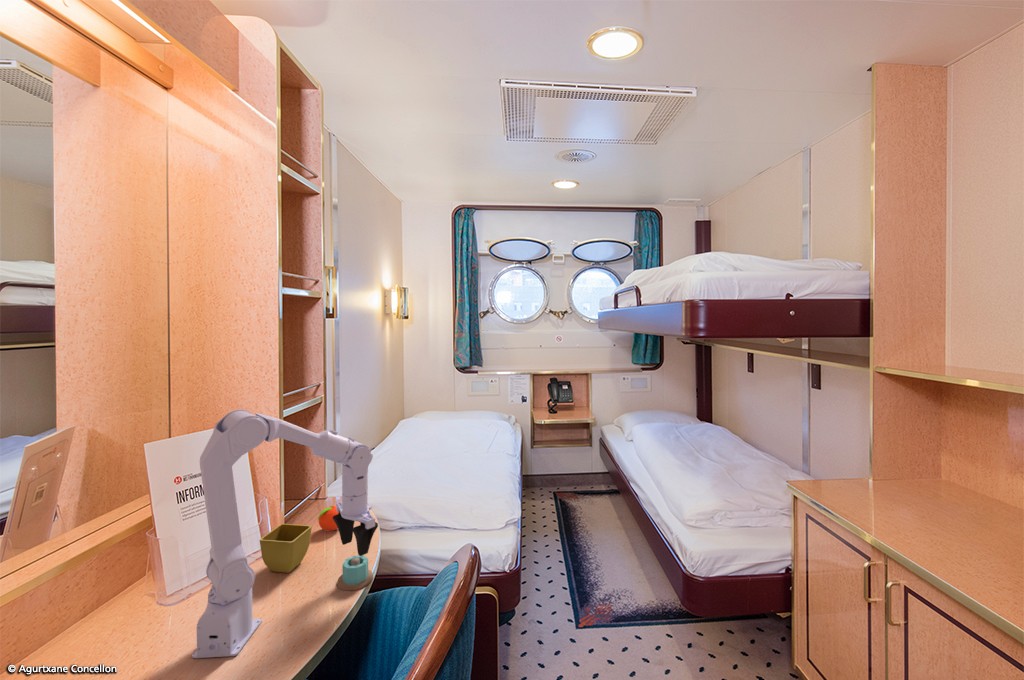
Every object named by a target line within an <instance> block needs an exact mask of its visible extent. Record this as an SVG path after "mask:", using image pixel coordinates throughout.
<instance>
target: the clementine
mask: <svg viewBox="0 0 1024 680" xmlns="http://www.w3.org/2000/svg"><path fill="white" fill-rule="evenodd" d="M338 513H339V512H337V511H336V505H329V506H328V507H325V508H324V509H323V510H322V511H321V512H320V514H319V515H318V518H317V520H318V525H319V526H320V528H321V529H322V530H324V531H327V532H333V531H335V530H337V529H338V527H337V525H336V523H335V521H334V520H333V516H334V515H337V514H338Z"/></svg>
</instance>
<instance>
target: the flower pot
mask: <svg viewBox="0 0 1024 680" xmlns="http://www.w3.org/2000/svg"><path fill="white" fill-rule="evenodd" d="M312 529H313V526H312V525H307V524H306V525H305V524H293V523H292V524H291V523H281V524H279V525H278V526H276V527H275V528H273V529H272V530H271V531H269V532H268V533H266V534H265V535H263V536H262V537H261V538H260V539H259V545H260V552H261V558H262V560H263V564H264V565H265V566H266V568H267V569H268V570H270V571H271V572H276V573H291V572H292V571H293V570H294V569H295V568H296V567H297V566H298V565H300V564H302V561H303V560H304V558H305V556H306V554H307V552H308V550H309V546H310V542H311V536H312Z"/></svg>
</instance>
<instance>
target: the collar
mask: <svg viewBox="0 0 1024 680" xmlns="http://www.w3.org/2000/svg"><path fill="white" fill-rule="evenodd" d="M353 558H359V559H360V564H359V565H357V566H351V560H352V559H353ZM368 570H369V557H366V556H365V554H364V555H362V556H359V555H353V556H351V557H348V558H346V559H345V560H344V561H343V563H342V574H343V582H344V583H346V584H347V585H357V584H359V583H361V582H363V581H365V580H366V579H367V577H368Z"/></svg>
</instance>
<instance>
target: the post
mask: <svg viewBox="0 0 1024 680" xmlns="http://www.w3.org/2000/svg"><path fill="white" fill-rule="evenodd" d="M359 564H360V559H359V558H353V559H352V560H351V566H357V565H359ZM373 579H374V573H373V572H372V570H370V569H368V577H367V579H366V580H365V581H363V582H361V583H359V584H357V585H347V584H346V583H344V582H343V573H341V575H340V576H339V577H338V579H337V587H338V589H339V590H342V591H346V592H347V591H348V592H350V591H351V592H352V591H358V590H361V589H364V588H366V587H367V586H369V584H371V583H372V581H373Z"/></svg>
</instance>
